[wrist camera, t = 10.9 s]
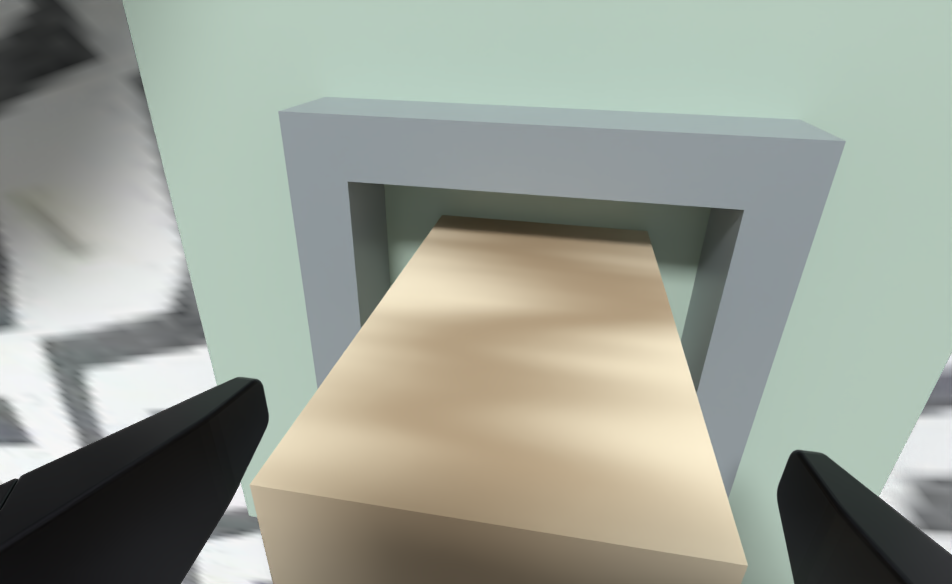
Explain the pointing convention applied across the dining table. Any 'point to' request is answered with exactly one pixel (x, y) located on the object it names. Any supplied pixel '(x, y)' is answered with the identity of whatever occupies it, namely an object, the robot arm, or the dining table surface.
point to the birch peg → (506, 427)
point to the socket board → (583, 191)
